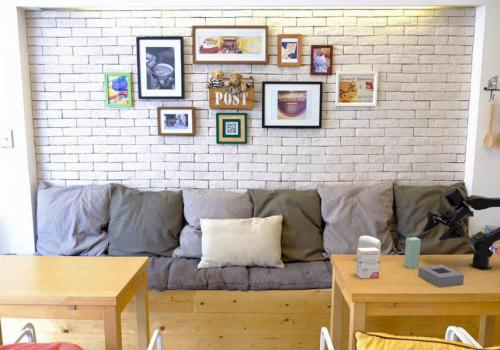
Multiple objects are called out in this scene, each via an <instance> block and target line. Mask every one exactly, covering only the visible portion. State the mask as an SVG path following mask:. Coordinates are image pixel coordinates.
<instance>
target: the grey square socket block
mask: <svg viewBox="0 0 500 350" xmlns="http://www.w3.org/2000/svg"><path fill="white" fill-rule="evenodd" d="M417 276H418V277H419V278H421V279H423V280H425V281H427V282H429V283H430V284H432V285H434V286H436V287H437V288H444V287H452V286H461V285H464V280H465V274H464V273H461V272H460V271H457V270H455V269H453V268H450V267H449V266H446V265H444V264H442V263H441V264H435V265H434V264H431V265H424V266H419V268H418V273H417Z"/></svg>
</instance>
